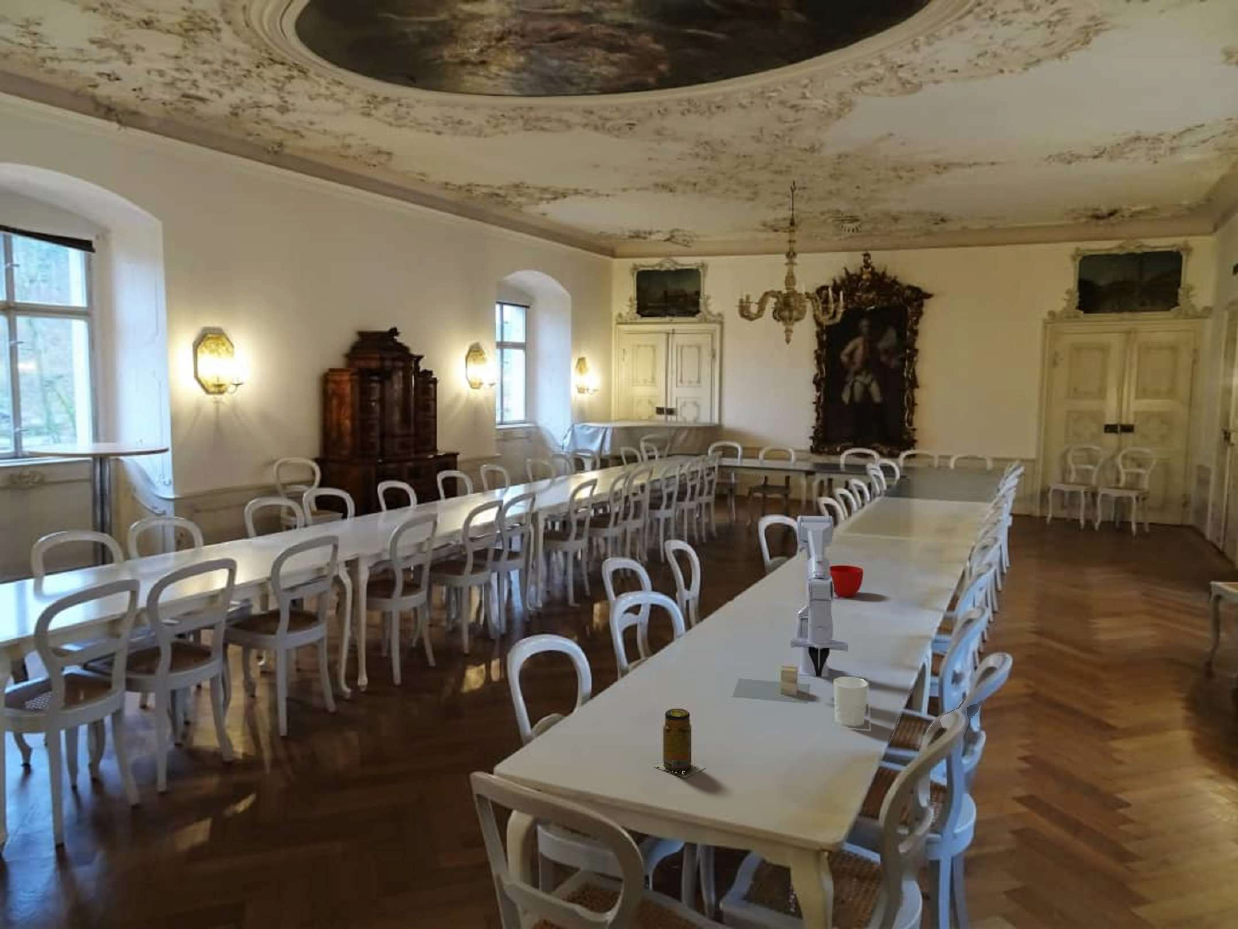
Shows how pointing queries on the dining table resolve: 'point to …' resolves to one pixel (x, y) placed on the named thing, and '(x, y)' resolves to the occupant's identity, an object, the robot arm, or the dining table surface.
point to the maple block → (789, 679)
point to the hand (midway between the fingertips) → (818, 675)
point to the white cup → (850, 700)
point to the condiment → (678, 744)
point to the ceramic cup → (846, 580)
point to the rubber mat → (769, 691)
